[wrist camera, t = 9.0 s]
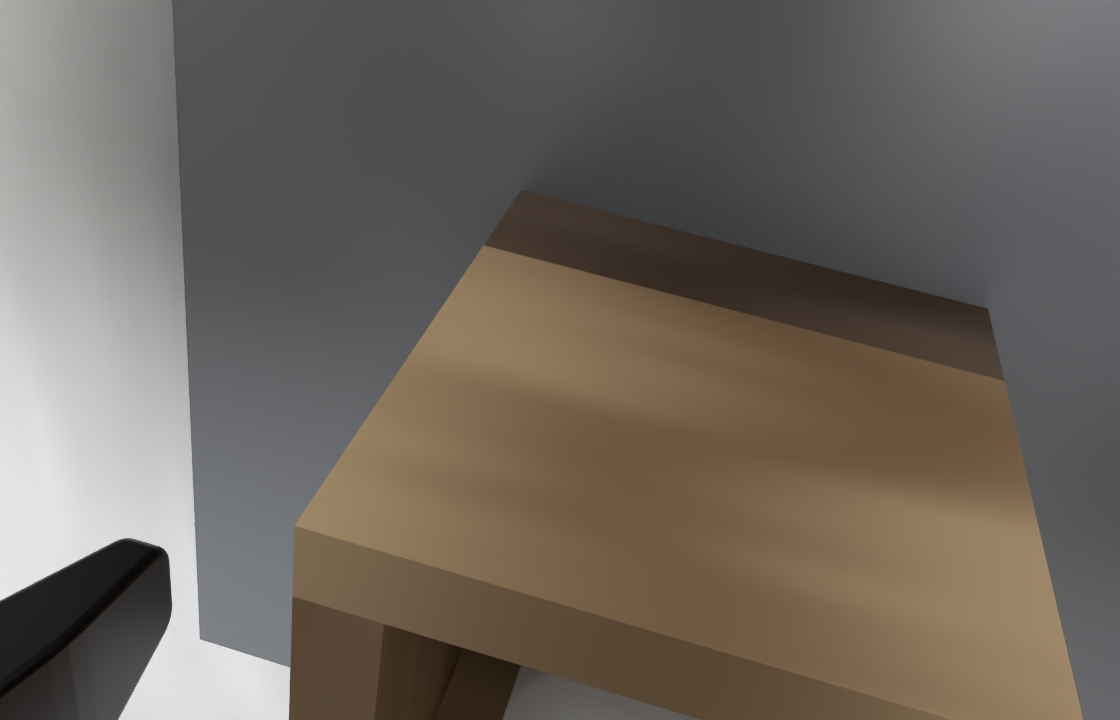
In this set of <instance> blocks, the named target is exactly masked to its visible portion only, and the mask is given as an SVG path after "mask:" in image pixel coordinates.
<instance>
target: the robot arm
mask: <svg viewBox="0 0 1120 720" xmlns="http://www.w3.org/2000/svg"><path fill="white" fill-rule="evenodd" d="M171 611H172V597H171V582H170V567H169V558H168V554H167V553H166V551H165V550H164V549H163V548H161V547H159V546H155V545H152V544H149V543H146V542H142V541H139V540H136V539H131V538H125V539H121V540H118V541H115V542H113V543H111V544H109V545H107V546H105V547H103V548H102V549H100V550H98V551H96V552H94V553H92V554H90V555H88V556H86V557H84V558H82V559H80V560H78V561H76V562H74V563H72V564H70V565H69V566H67V567H65V568H63V569H61V570H59V571H57V572H55V573H53V574H51V575H49V576H47V577H45V578H43V579H41V580H39V581H37V582H36V583H34V584H32V585H30V586H28V587H26V588H24V589H22V590H20V591H18V592H16V593H14V594H12V595H10V596H8V597H6V598H5V599H3V600H1V601H0V720H118V719H119V717H120V715H121V713H122V711H123V710H124V708H125V706H126V704H127V702H128V700H129V698H130V696H131V695H132V693H133V691H134V689H135V687H136V685H137V683H138V682H139V680H140V678H141V676H142V674H143V672H144V670H145V668H146V667H147V665H148V663H149V661H150V659H151V657H152V655H153V654H154V652H155V650H156V648H157V646H158V644H159V642H160V640H161V639H162V637H163V635H164V633H165V631H166V629H167V626H168V624H169V620H170V617H171Z"/></svg>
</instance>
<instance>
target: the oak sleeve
mask: <svg viewBox="0 0 1120 720" xmlns="http://www.w3.org/2000/svg"><path fill="white" fill-rule="evenodd" d="M521 665H522V666H525V667H528V668H531V669H535V670H538V671H541V672H545V673H548V674H551V675H555V676H558V677H561V678H565V679H568V680H571V681H574V682H578V683H581V684H584V685H588V686H591V687H594V688H598V689H601V690H604V691H608V692H611V693H614V694H617V695H621V696H624V697H627V698H631V699H634V700H637V701H641V702H644V703H647V704H650V705H654V706H657V707H660V708H664V709H667V710H670V711H674V712H677V713H680V714H684V715H687V716H690V717H693V718H697V719H700V720H1083V717H1082V712H1081V708H1080V704H1079V699H1078V695H1077V691H1076V686H1075V682H1074V678H1073V673H1072V669H1071V665H1070V660H1069V656H1068V652H1067V648H1066V643H1065V639H1064V635H1063V630H1062V626H1061V622H1060V617H1059V613H1058V609H1057V604H1056V600H1055V596H1054V591H1053V587H1052V583H1051V578H1050V574H1049V570H1048V566H1047V561H1046V557H1045V553H1044V548H1043V544H1042V540H1041V535H1040V531H1039V527H1038V522H1037V518H1036V514H1035V509H1034V505H1033V501H1032V497H1031V492H1030V488H1029V484H1028V479H1027V475H1026V471H1025V466H1024V462H1023V458H1022V453H1021V449H1020V445H1019V440H1018V436H1017V432H1016V428H1015V423H1014V419H1013V415H1012V410H1011V406H1010V402H1009V397H1008V393H1007V389H1006V384H1005V380H1004V376H1003V371H1002V367H1001V363H1000V359H999V354H998V350H997V346H996V341H995V337H994V333H993V328H992V324H991V320H990V315H989V311H988V308H984V307H980V306H976V305H972V304H968V303H964V302H960V301H956V300H952V299H948V298H944V297H940V296H936V295H932V294H928V293H924V292H921V291H917V290H913V289H909V288H905V287H901V286H897V285H893V284H889V283H885V282H881V281H877V280H873V279H869V278H865V277H861V276H857V275H854V274H850V273H846V272H842V271H838V270H834V269H830V268H826V267H822V266H818V265H814V264H810V263H806V262H802V261H798V260H794V259H790V258H787V257H783V256H779V255H775V254H771V253H767V252H763V251H759V250H755V249H751V248H747V247H743V246H739V245H735V244H731V243H727V242H723V241H719V240H716V239H712V238H708V237H704V236H700V235H696V234H692V233H688V232H684V231H680V230H676V229H672V228H668V227H664V226H660V225H656V224H652V223H649V222H645V221H641V220H637V219H633V218H629V217H625V216H621V215H617V214H613V213H609V212H605V211H601V210H597V209H593V208H589V207H585V206H581V205H578V204H574V203H570V202H566V201H562V200H558V199H554V198H550V197H546V196H542V195H538V194H534V193H530V192H526V191H522V190H521V191H520V192H519V194H518V195H517V197H516V198H515V200H514V201H513V203H512V204H511V206H510V207H509V208H508V210H507V211H506V213H505V214H504V216H503V217H502V219H501V220H500V222H499V223H498V225H497V226H496V228H495V229H494V231H493V232H492V234H491V235H490V237H489V238H488V240H487V241H486V243H485V244H484V246H483V247H482V248H481V250H480V251H479V253H478V254H477V256H476V257H475V259H474V260H473V262H472V263H471V265H470V266H469V268H468V269H467V271H466V272H465V274H464V275H463V277H462V278H461V280H460V281H459V283H458V284H457V285H456V287H455V288H454V290H453V291H452V293H451V294H450V296H449V297H448V299H447V300H446V302H445V303H444V305H443V306H442V308H441V309H440V311H439V312H438V314H437V315H436V317H435V318H434V320H433V321H432V322H431V324H430V325H429V327H428V328H427V330H426V331H425V333H424V334H423V336H422V337H421V339H420V340H419V342H418V343H417V345H416V346H415V348H414V349H413V351H412V352H411V354H410V355H409V357H408V358H407V359H406V361H405V362H404V364H403V365H402V367H401V368H400V370H399V371H398V373H397V374H396V376H395V377H394V379H393V380H392V382H391V383H390V385H389V386H388V388H387V389H386V391H385V392H384V394H383V395H382V397H381V398H380V399H379V401H378V402H377V404H376V405H375V407H374V408H373V410H372V411H371V413H370V414H369V416H368V417H367V419H366V420H365V422H364V423H363V425H362V426H361V428H360V429H359V431H358V432H357V434H356V435H355V436H354V438H353V439H352V441H351V442H350V444H349V445H348V447H347V448H346V450H345V451H344V453H343V454H342V456H341V457H340V459H339V460H338V462H337V463H336V465H335V466H334V468H333V469H332V471H331V472H330V473H329V475H328V476H327V478H326V479H325V481H324V482H323V484H322V485H321V487H320V488H319V490H318V491H317V493H316V494H315V496H314V497H313V499H312V500H311V502H310V503H309V505H308V506H307V508H306V509H305V511H304V512H303V513H302V515H301V516H300V518H299V519H298V521H297V522H296V524H295V525H294V554H293V592H292V629H291V667H290V704H289V720H503V717H504V714H505V711H506V708H507V705H508V702H509V699H510V696H511V693H512V690H513V687H514V684H515V681H516V678H517V676H518V673H519V670H520V667H521Z"/></svg>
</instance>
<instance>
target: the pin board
mask: <svg viewBox="0 0 1120 720" xmlns="http://www.w3.org/2000/svg"><path fill="white" fill-rule="evenodd" d="M172 3H173V26H174V49H175V72H176V96H177V119H178V142H179V165H180V188H181V211H182V234H183V257H184V280H185V303H186V327H187V350H188V373H189V396H190V419H191V442H192V465H193V488H194V511H195V534H196V558H197V581H198V604H199V627H200V639H201V640H204V641H208V642H211V643H214V644H217V645H220V646H224V647H227V648H230V649H233V650H237V651H240V652H243V653H246V654H249V655H253V656H256V657H259V658H262V659H265V660H269V661H272V662H275V663H278V664H281V665H285V666H288V667H291V629H292V592H293V554H294V525H295V524H296V522H297V521H298V519H299V518H300V516H301V515H302V513H303V512H304V511H305V509H306V508H307V506H308V505H309V503H310V502H311V500H312V499H313V497H314V496H315V494H316V493H317V491H318V490H319V488H320V487H321V485H322V484H323V482H324V481H325V479H326V478H327V476H328V475H329V473H330V472H331V471H332V469H333V468H334V466H335V465H336V463H337V462H338V460H339V459H340V457H341V456H342V454H343V453H344V451H345V450H346V448H347V447H348V445H349V444H350V442H351V441H352V439H353V438H354V436H355V435H356V434H357V432H358V431H359V429H360V428H361V426H362V425H363V423H364V422H365V420H366V419H367V417H368V416H369V414H370V413H371V411H372V410H373V408H374V407H375V405H376V404H377V402H378V401H379V399H380V398H381V397H382V395H383V394H384V392H385V391H386V389H387V388H388V386H389V385H390V383H391V382H392V380H393V379H394V377H395V376H396V374H397V373H398V371H399V370H400V368H401V367H402V365H403V364H404V362H405V361H406V359H407V358H408V357H409V355H410V354H411V352H412V351H413V349H414V348H415V346H416V345H417V343H418V342H419V340H420V339H421V337H422V336H423V334H424V333H425V331H426V330H427V328H428V327H429V325H430V324H431V322H432V321H433V320H434V318H435V317H436V315H437V314H438V312H439V311H440V309H441V308H442V306H443V305H444V303H445V302H446V300H447V299H448V297H449V296H450V294H451V293H452V291H453V290H454V288H455V287H456V285H457V284H458V283H459V281H460V280H461V278H462V277H463V275H464V274H465V272H466V271H467V269H468V268H469V266H470V265H471V263H472V262H473V260H474V259H475V257H476V256H477V254H478V253H479V251H480V250H481V248H482V247H483V246H484V244H485V243H486V241H487V240H488V238H489V237H490V235H491V234H492V232H493V231H494V229H495V228H496V226H497V225H498V223H499V222H500V220H501V219H502V217H503V216H504V214H505V213H506V211H507V210H508V208H509V207H510V206H511V204H512V203H513V201H514V200H515V198H516V197H517V195H518V194H519V192H520V191H521V190H522V191H526V192H530V193H534V194H538V195H542V196H546V197H550V198H554V199H558V200H562V201H566V202H570V203H574V204H578V205H581V206H585V207H589V208H593V209H597V210H601V211H605V212H609V213H613V214H617V215H621V216H625V217H629V218H633V219H637V220H641V221H645V222H649V223H652V224H656V225H660V226H664V227H668V228H672V229H676V230H680V231H684V232H688V233H692V234H696V235H700V236H704V237H708V238H712V239H716V240H719V241H723V242H727V243H731V244H735V245H739V246H743V247H747V248H751V249H755V250H759V251H763V252H767V253H771V254H775V255H779V256H783V257H787V258H790V259H794V260H798V261H802V262H806V263H810V264H814V265H818V266H822V267H826V268H830V269H834V270H838V271H842V272H846V273H850V274H854V275H857V276H861V277H865V278H869V279H873V280H877V281H881V282H885V283H889V284H893V285H897V286H901V287H905V288H909V289H913V290H917V291H921V292H924V293H928V294H932V295H936V296H940V297H944V298H948V299H952V300H956V301H960V302H964V303H968V304H972V305H976V306H980V307H984V308H988V311H989V315H990V320H991V324H992V328H993V333H994V337H995V341H996V346H997V350H998V354H999V359H1000V363H1001V367H1002V371H1003V376H1004V380H1005V384H1006V389H1007V393H1008V397H1009V402H1010V406H1011V410H1012V415H1013V419H1014V423H1015V428H1016V432H1017V436H1018V440H1019V445H1020V449H1021V453H1022V458H1023V462H1024V466H1025V471H1026V475H1027V479H1028V484H1029V488H1030V492H1031V497H1032V501H1033V505H1034V509H1035V514H1036V518H1037V522H1038V527H1039V531H1040V535H1041V540H1042V544H1043V548H1044V553H1045V557H1046V561H1047V566H1048V570H1049V574H1050V578H1051V583H1052V587H1053V591H1054V596H1055V600H1056V604H1057V609H1058V613H1059V617H1060V622H1061V626H1062V630H1063V635H1064V639H1065V643H1066V648H1067V652H1068V656H1069V660H1070V665H1071V669H1072V673H1073V678H1074V682H1075V686H1076V691H1077V695H1078V699H1079V704H1080V708H1081V712H1082V717H1083V720H1120V0H172ZM503 720H700V719H697V718H693V717H690V716H687V715H684V714H680V713H677V712H674V711H670V710H667V709H664V708H660V707H657V706H654V705H650V704H647V703H644V702H641V701H637V700H634V699H631V698H627V697H624V696H621V695H617V694H614V693H611V692H608V691H604V690H601V689H598V688H594V687H591V686H588V685H584V684H581V683H578V682H574V681H571V680H568V679H565V678H561V677H558V676H555V675H551V674H548V673H545V672H541V671H538V670H535V669H531V668H528V667H525V666H522V665H521V667H520V670H519V673H518V676H517V678H516V681H515V684H514V687H513V690H512V693H511V696H510V699H509V702H508V705H507V708H506V711H505V714H504V717H503Z"/></svg>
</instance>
